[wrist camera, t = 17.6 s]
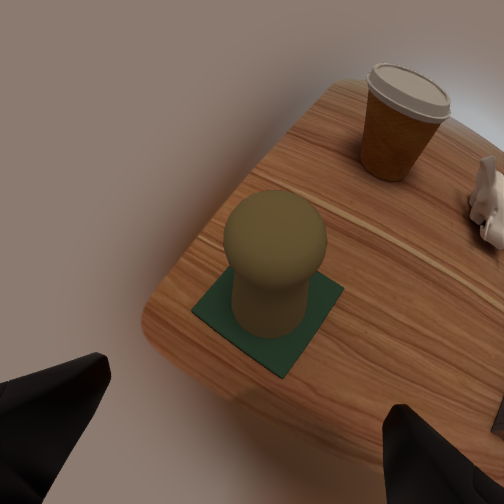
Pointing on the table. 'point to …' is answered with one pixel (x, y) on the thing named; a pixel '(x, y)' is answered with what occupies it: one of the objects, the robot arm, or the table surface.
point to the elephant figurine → (489, 202)
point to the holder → (499, 422)
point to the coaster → (271, 349)
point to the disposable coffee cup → (399, 119)
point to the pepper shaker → (273, 260)
